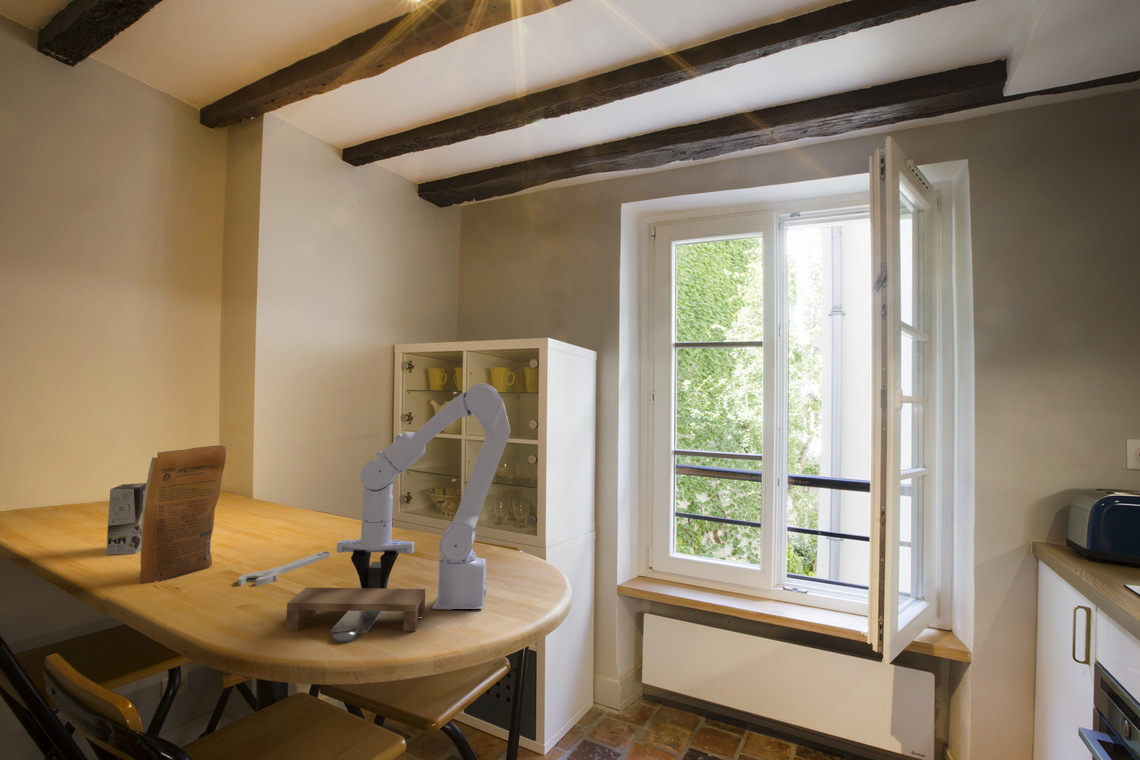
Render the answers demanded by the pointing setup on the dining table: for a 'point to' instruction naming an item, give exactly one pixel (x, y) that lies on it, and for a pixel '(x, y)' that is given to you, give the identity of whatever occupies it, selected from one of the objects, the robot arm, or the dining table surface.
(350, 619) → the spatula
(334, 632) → the steel disc
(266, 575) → the adjustable wrench
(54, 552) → the dining table surface
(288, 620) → the walnut shelf
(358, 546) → the robot arm
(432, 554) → the dining table surface
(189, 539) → the pancake mix bag
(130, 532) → the coffee box
